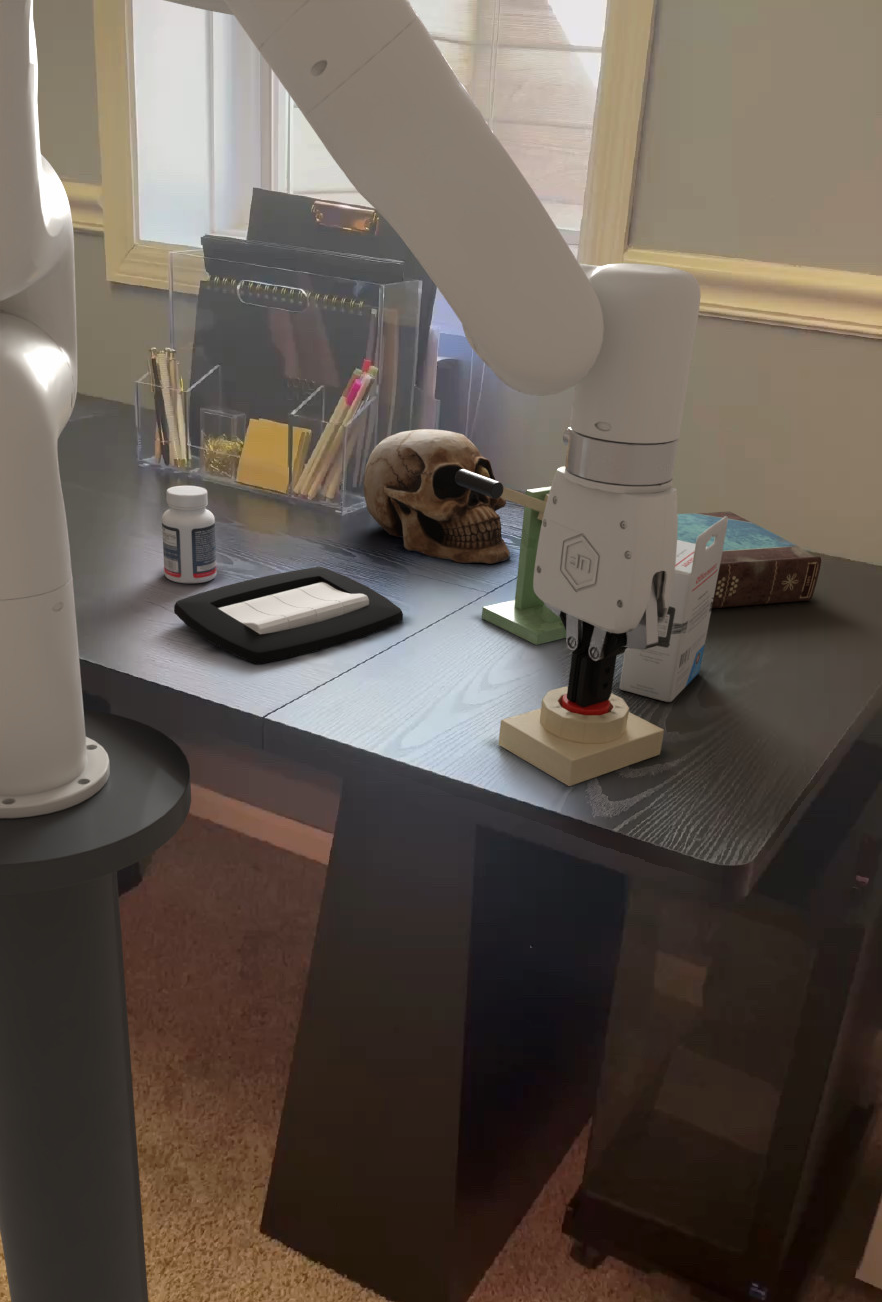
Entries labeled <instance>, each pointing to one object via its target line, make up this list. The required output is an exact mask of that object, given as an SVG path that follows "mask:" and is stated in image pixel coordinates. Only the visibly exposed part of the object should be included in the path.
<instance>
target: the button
mask: <svg viewBox="0 0 882 1302" xmlns="http://www.w3.org/2000/svg"><path fill="white" fill-rule="evenodd" d="M562 708H564V709H566V710H568V711H570V712H572V713H577V714H581V715H603V714H606V713H608V711H609V701H608V700H607V701H603V702H600V703H597V704H594V705H590V706H587V707H584V708H583V707H581V706H579V705H577V702H571V701H569V700H568V699H567V694H565V695H564V696H563V699H562Z"/></svg>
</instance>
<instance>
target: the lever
mask: <svg viewBox="0 0 882 1302" xmlns="http://www.w3.org/2000/svg"><path fill="white" fill-rule="evenodd" d="M495 480H496V479H495ZM495 480H492V479H489V478H487V477H484V476H481V475H479V474H476V473H473V472H470V471H468V470H465V469H461V470H459V471H458V472H457V474H456V476H455V481H456V483H457V484H458V485H460V486H463V487H465V488H468V489H471V490H473V491H476V492H478V493H481V494H484V495H486V496H489V497H492V498H494V499H497V498H499V497H500V498H503V499H505V500H506V501H509V502H511V503H514V504H517V505H520V506H522V507H524V506H525V507H528V508H531V509H533V510H536V511H539V515H538V518H537V519H539V520H543V515H544V511H545V507H546V503H547V499H548V496H549V495H547V494H546V496H545V499H544V501H541V500H539V499H536V498H533V497H530V496H528V495H526V493H522V492H520V491H517V490H514V489H511V488H509V487H506V486H504V485H503V483H502V482H500V481H497V480H496V481H495Z"/></svg>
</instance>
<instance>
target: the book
mask: <svg viewBox="0 0 882 1302" xmlns="http://www.w3.org/2000/svg"><path fill="white" fill-rule="evenodd" d="M725 516H727V517H728V523H727V529H726V535H725V540H724V545H723V550H722V557H721V562H720V567H719V572H718V578H717V583H716V588H715V593H714V598H713V603H712V608H711V610H712V609H723V608H734V607H735V608H736V607H744V606H746V607H747V606H758V605H770V604H781V603H782V604H784V603H795V602H805V601H811V600H812V598H813V596H814V593H815V589H816V586H817V582H818V578H819V574H820V570H821V565H822V557H821V556H819V555H817V556H814V555H812V554H811V553H810V552H808V551H806V550H805V549H804V548H802V547H800V546H799V545H796V544H795V543H793V542H791V541H790V540H787V539H785V538H784V537H781V536H780V535H778V534H776V533H774V532H773V531H770V530H768V529H766V528H764V527H762V526H760V525H758V524H756V523H754V522H752V521H750V520H748V519H746V518H744V517H742V516H740V515H738V514H737V513H734V512H731V511H712V512H711V511H710V512H692V513H691V512H690V513H678V530H677V540H680V541H684V542H689V543H693V544H696V540H697V538H698V536H699V535H700V534H702V533H703V532H705V531H706V530H707V529H708V528H709V527H711V526H712V525H714V524H715V523H717V522H718V521H720V520H721V519H723V518H724V517H725ZM714 540H715V537H712V536H711V539H710V541H708V542H707V544H706V547H709V546H710V545H712V544H713V542H714Z"/></svg>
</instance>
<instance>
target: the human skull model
mask: <svg viewBox="0 0 882 1302" xmlns="http://www.w3.org/2000/svg"><path fill="white" fill-rule="evenodd" d="M366 462H367V463H366V465H365V468H364V469H365V470H364V475H363V476H364V477H363V496H364V500H365V504H366V509H367V511H368V513H369V515H371V517H372V518H373V519H374V520H375V522H377V524H378V525H379V526H380V527H381V528H382V529H383V530H384V531H385V532H386V533H387V534H388V535H390V536H394V537H397V538H403V547H404V549H405V550H407V551H409V552H417V553H419V554H423V555H426V556H428V557H431V558H439V559H441V560H450V561H453V562H455V563H463V564H478V563H481V564H488V565H492V564H496V563H501V562H504V561H506V560H508V559H509V557H510V555H511V552H510V550H509V548H508V546H507V544H506V542H505V539H504V538H503V536H502V522H501V516H500V515H499V514H498V513H497V511H498V510H500V509H502V508H504V507H506V504H507V500H505V499H503V498H500V497H499V498H497V499H494V498H492V497H489V496H486V495H484V494H481V493H478V492H476V491H473V490H471V489H468V488H465V487H463V486H460V485H458V484H457V483H456V481H455V476H456V474H457V472H458V471H459V470H461V469H465V470H468V471H470V472H473V473H476V474H479V475H481V476H484V477H487V478H489V479H492V480H495V481H497V480H496V477H495V475H494V471H493V469H492V468H493V467H492V463H491V461H490V460H489V458H485V457H484V456H482V454H481V452H480V451H479V449H478V448H477V446H476V445H475V444H474V443H473V442H472V441H471V440H470V439H469V438H468V437H467V436H465V435H464V434H463V433H460V432H455V431H451V430H445V429H432V428H431V429H430V428H429V429H425V428H423V429H422V428H421V429H412V430H406V431H400V432H397V433H394V434H392V435H390V436H388V437H385V438H384V439H382V440H381V441H380V442H379V443H378V444H377V445H375V447H374V448H373V449H372V451H371V453H370V455H369V457H368V460H367V461H366Z"/></svg>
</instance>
